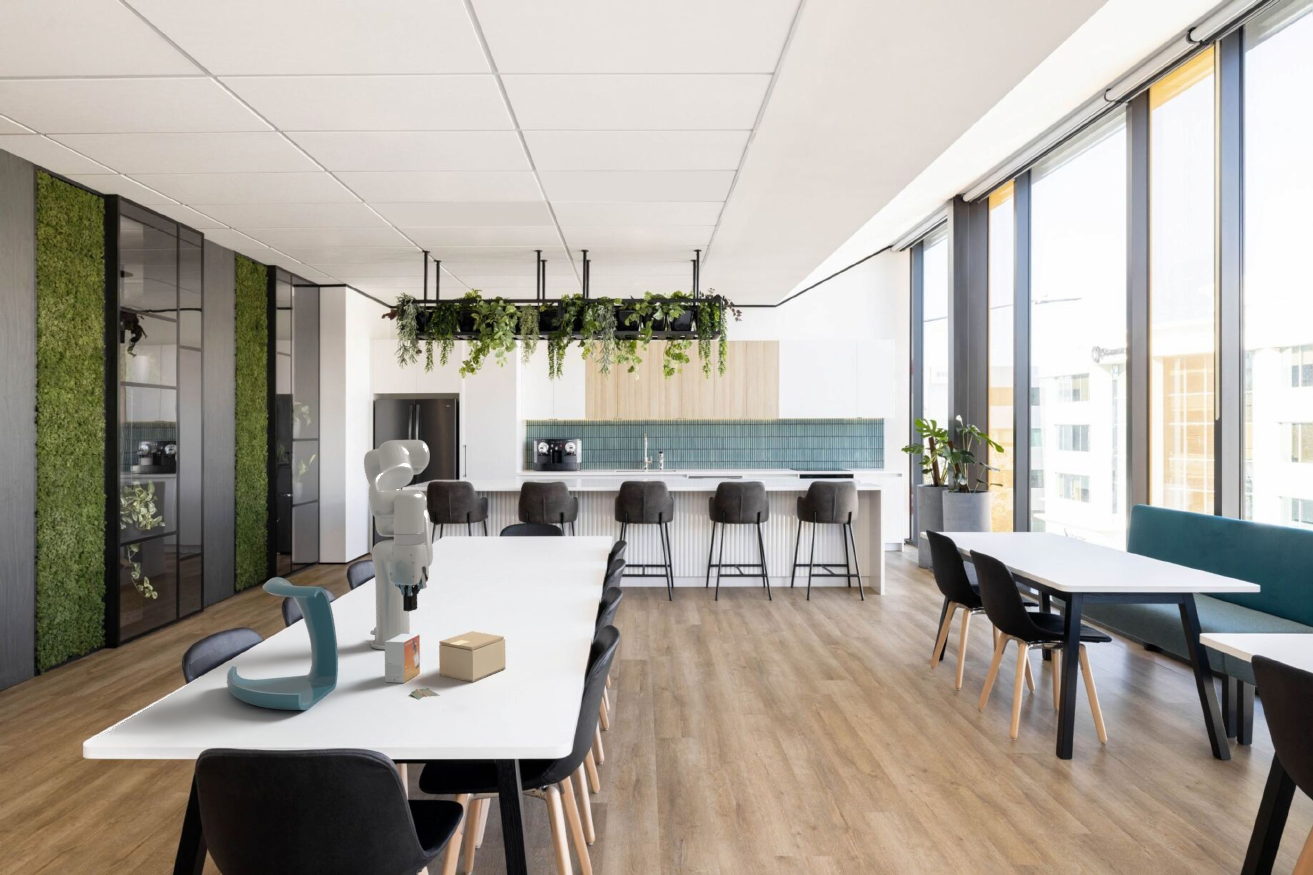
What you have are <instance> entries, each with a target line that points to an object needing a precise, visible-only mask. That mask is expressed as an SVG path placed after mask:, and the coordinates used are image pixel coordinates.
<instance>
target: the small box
mask: <svg viewBox="0 0 1313 875" xmlns="http://www.w3.org/2000/svg"><path fill="white" fill-rule="evenodd" d="M420 640H421V639H420V634H419V633H418V634H415V633H414V634H413V633H410V634H400V635H398V636H396V637H394V638H392V639H390V640H388V641H385V649H384V682H385V683H398V684H401V683H402V684H405V683H407V682H408V681H409V680H411V679H413V678H414V677H416V676H418V675H420V674H421V670H420V669H421V667H420V665H421V664H420V663H421V660H420V658H421V656H420V655H421V654H420V652H421V650H420V648H421V647H420V646H421V644H420Z"/></svg>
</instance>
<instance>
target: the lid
mask: <svg viewBox="0 0 1313 875" xmlns="http://www.w3.org/2000/svg"><path fill="white" fill-rule="evenodd" d="M503 639H505V636H501V635H496V634H490V633H486V632H485V633H484V632H479V631H468V632H465V633H462V634H458V635H456V636H453V637H449V638H447V639H446V638H445V639H443V640H440V641H439V645H440V644H442V645H447V646H453V647H458V648H464V649H469V650H473V649H476V648H479V647H482V646H485V645H488V644H491V643H494V642H497V641H500V640H503Z"/></svg>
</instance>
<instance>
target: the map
mask: <svg viewBox="0 0 1313 875" xmlns="http://www.w3.org/2000/svg"><path fill="white" fill-rule="evenodd" d="M410 694H411V695H412V696H413V697H414V698H416V699H417V700H421V699H422V698H427V697H428V698H431V697H439V696H441V694H438V693H437V692H436V691H433V690H431V689H430V688H416V689H415V690H413V691H411V693H410Z"/></svg>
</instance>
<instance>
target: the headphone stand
mask: <svg viewBox="0 0 1313 875" xmlns="http://www.w3.org/2000/svg"><path fill="white" fill-rule="evenodd" d="M262 590H263V591H264V592H266V593H269V594H271V595H274V596H277V597H286V598H293V599H294V601H295V603H296V604H297V606H298V609H299V611H300V613H301V615H302V618H303V621H304V623H305V627H306V630H307V633H308V637H309V642H310V650H311V665H310V670H309V672H308V673H307V674H306V675H295V676H294V675H293V676H284V677H283V676H282V677H273V678H271V677H270V678H260V679H251V678H250V679H249V678H243V677H241V676H240V675H238V671H237V668H238V667H237V666H231V667H230V669H229V670H228V672H227V674H226V685H227V688H228V689H227V690H229V692H230V693H231V694H232V696H234V697H235V698H236V699H238V700H240V701H241V702H244V703H246V704H249V705H252V706H255V707H260V708H265V709H272V710H285V711H307V710H309V709H311V708H313V707H314V706H316V705H317V704H318V703H319V702H320V701H321V700H323V699H324V698H325V697H326V696H328V695H329V694H330V693H332V692H333V691H334V690H335V689H336V687H337V684H338V677H339V676H338V673H339V653H338V652H339V651H338V642H337V641H338V640H337V633H336V632H337V631H336V625H335V618H334V614H333V610H332V605H331V601H330V598H329V595H328V593H327V591H326V589H325V588H324V587H323V586H302V585H301V586H299V585H293V584H292V583H291V582H290V581H289V580H287V579H285V578H283V577H280V576H275V577H272V578H270V579H269V580H267V581H266V582H265V583H264V584H263V585H262Z"/></svg>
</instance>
